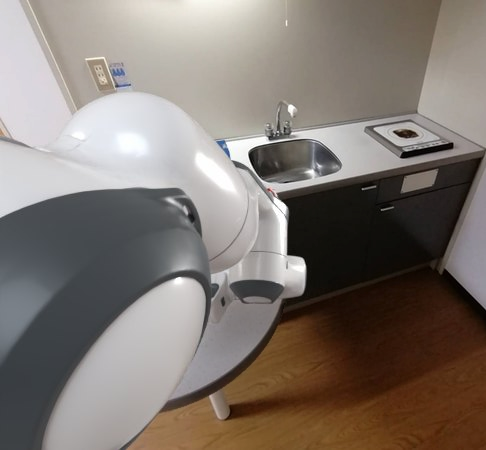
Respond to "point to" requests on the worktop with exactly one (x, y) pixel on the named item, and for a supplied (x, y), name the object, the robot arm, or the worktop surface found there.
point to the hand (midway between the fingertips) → (152, 277)
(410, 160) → the worktop surface
